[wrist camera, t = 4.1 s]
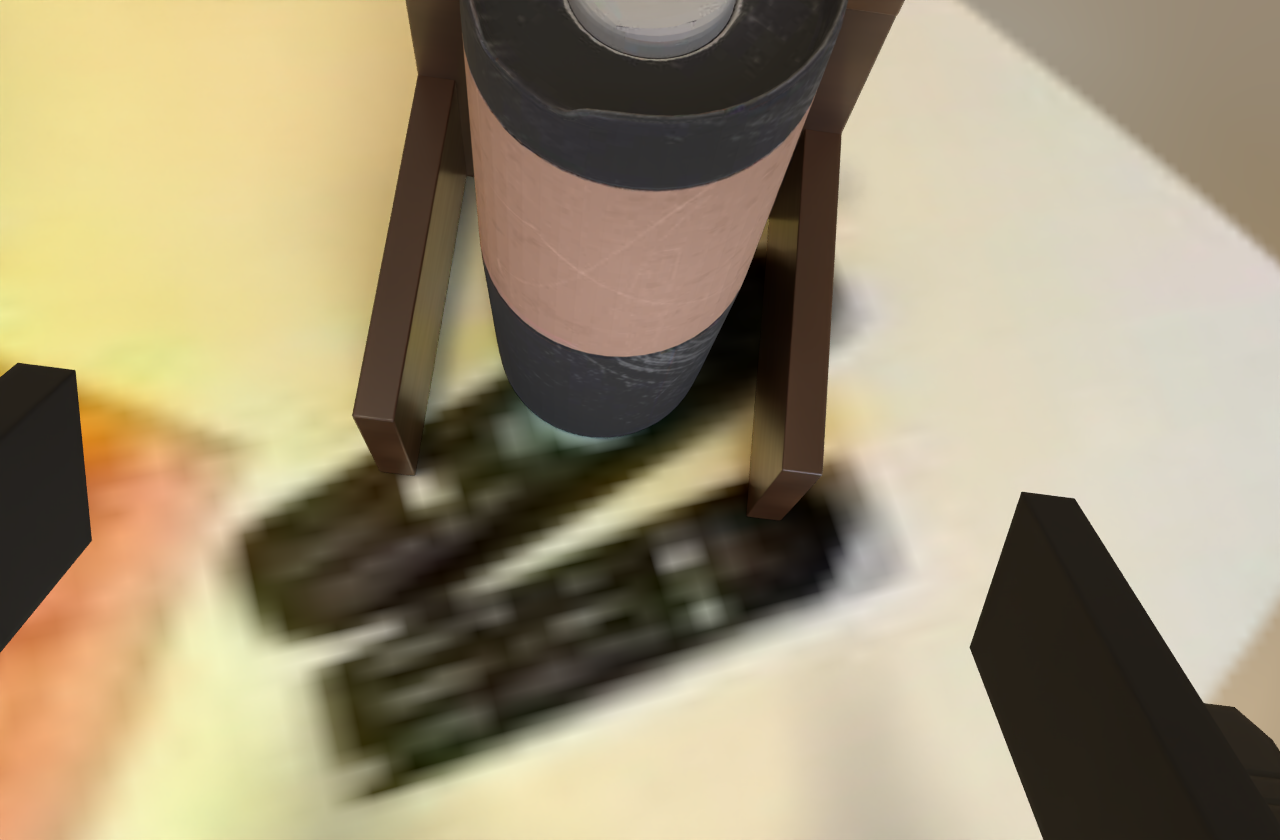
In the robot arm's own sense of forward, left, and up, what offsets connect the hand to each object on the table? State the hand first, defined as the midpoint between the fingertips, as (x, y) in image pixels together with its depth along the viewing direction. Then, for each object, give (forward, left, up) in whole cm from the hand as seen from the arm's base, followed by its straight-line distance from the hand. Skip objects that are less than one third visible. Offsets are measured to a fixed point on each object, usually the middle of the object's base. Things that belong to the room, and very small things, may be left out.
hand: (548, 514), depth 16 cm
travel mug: (+1, +11, -22) cm, 25 cm away
